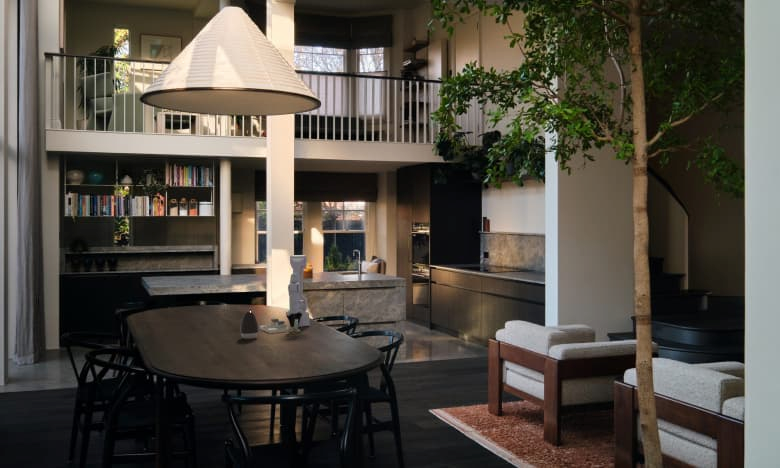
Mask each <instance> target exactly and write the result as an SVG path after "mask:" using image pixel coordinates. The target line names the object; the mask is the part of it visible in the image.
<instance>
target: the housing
mask: <svg viewBox="0 0 780 468" xmlns="http://www.w3.org/2000/svg"><path fill="white" fill-rule="evenodd" d="M259 330H261V331H263V332H266V333H267V334H278V333H287V332H290V331H289V330H290V328H289V327H287V324H286V323H284V324H280V325H279V324H278V323H277V322H272V321H271V320H270V321H269V324H265V325H259Z"/></svg>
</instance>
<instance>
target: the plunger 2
mask: <svg viewBox="0 0 780 468" xmlns="http://www.w3.org/2000/svg"><path fill="white" fill-rule="evenodd" d="M277 323H278V324H279V325H280V324H286V322H285V321H284V320H279V321H277Z"/></svg>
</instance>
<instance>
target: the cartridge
mask: <svg viewBox="0 0 780 468" xmlns="http://www.w3.org/2000/svg"><path fill="white" fill-rule="evenodd" d="M293 329H298V330H299V327H298V319H295V322H294V327H290V330H293Z"/></svg>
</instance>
